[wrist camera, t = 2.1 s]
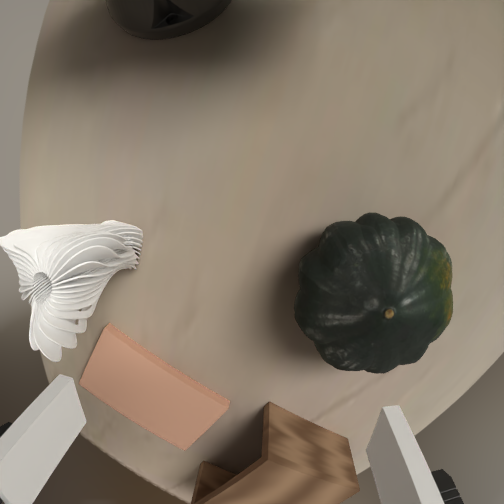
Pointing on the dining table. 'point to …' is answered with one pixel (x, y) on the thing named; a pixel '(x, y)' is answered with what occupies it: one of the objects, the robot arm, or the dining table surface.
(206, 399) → the tile
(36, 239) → the shell sculpture
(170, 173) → the dining table surface
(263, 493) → the shelf
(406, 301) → the squash
